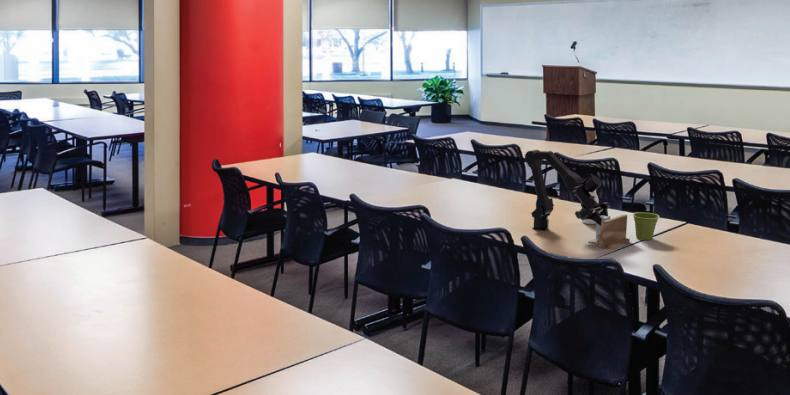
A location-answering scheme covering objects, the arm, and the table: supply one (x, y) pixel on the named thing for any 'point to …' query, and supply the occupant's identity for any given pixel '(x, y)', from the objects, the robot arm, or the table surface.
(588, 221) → the milk bottle
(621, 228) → the brown angular stand
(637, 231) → the plant pot
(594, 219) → the robot arm
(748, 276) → the table surface
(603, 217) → the pale blue beveled prism
